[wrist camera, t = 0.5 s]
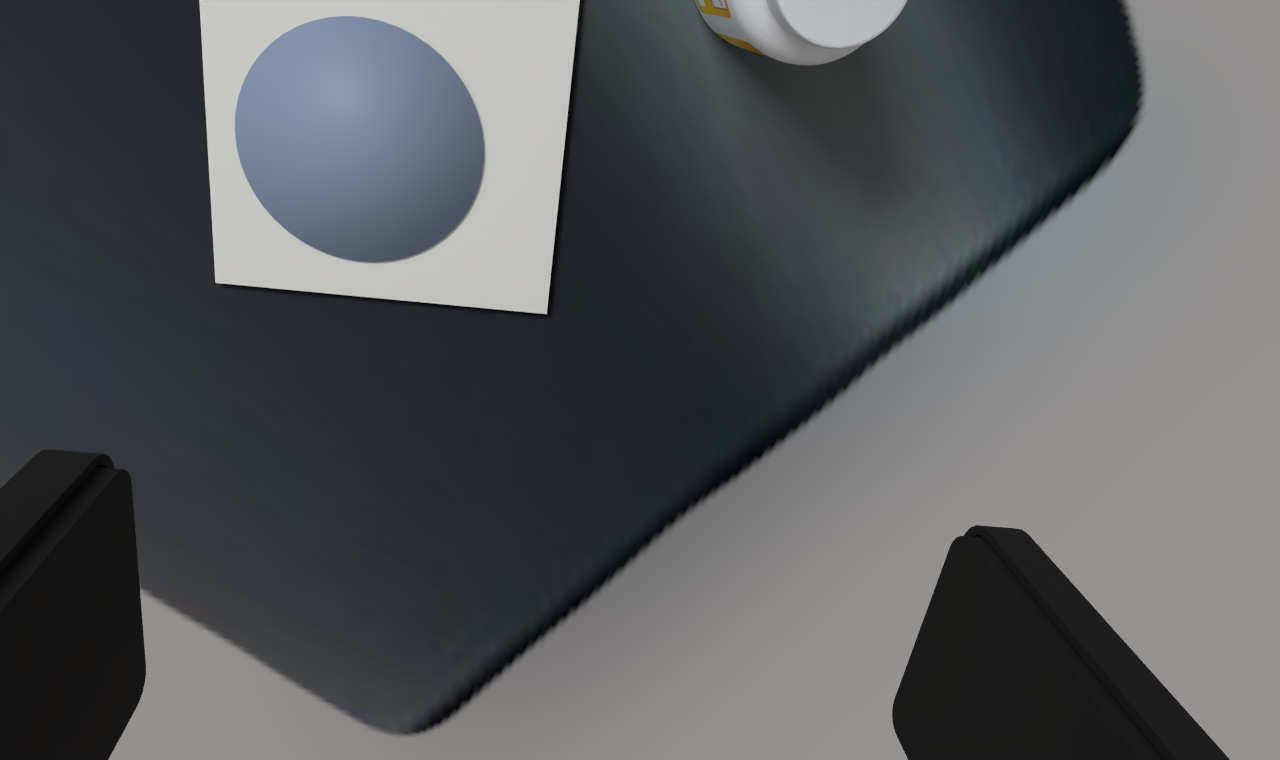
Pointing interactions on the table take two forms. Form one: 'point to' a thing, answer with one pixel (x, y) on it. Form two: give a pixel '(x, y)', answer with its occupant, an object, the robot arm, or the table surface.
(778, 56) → the supplement bottle
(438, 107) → the paper sheet
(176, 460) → the table surface
